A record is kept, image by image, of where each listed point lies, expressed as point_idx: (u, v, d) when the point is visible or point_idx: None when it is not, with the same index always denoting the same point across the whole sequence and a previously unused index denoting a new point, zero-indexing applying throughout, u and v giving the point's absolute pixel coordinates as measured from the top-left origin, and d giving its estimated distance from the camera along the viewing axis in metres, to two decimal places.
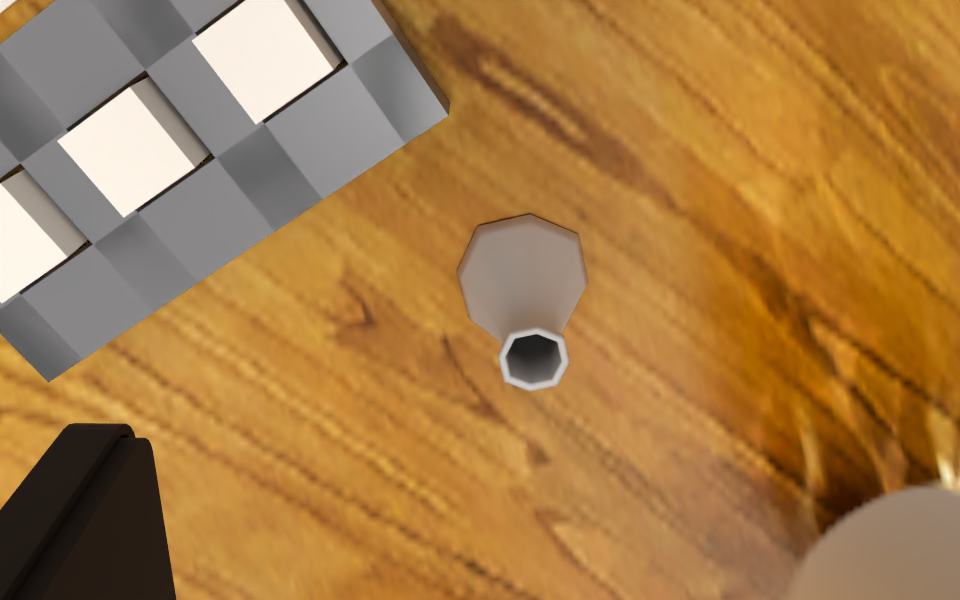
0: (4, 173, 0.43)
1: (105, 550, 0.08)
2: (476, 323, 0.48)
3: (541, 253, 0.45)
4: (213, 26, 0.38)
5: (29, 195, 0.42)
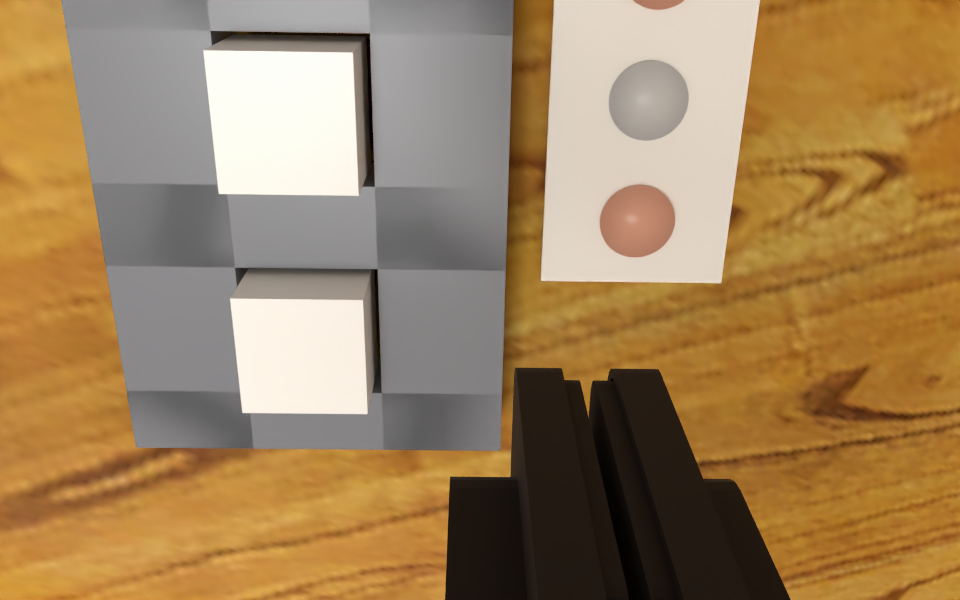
0: None
1: None
2: None
3: None
4: (362, 331, 0.30)
5: None
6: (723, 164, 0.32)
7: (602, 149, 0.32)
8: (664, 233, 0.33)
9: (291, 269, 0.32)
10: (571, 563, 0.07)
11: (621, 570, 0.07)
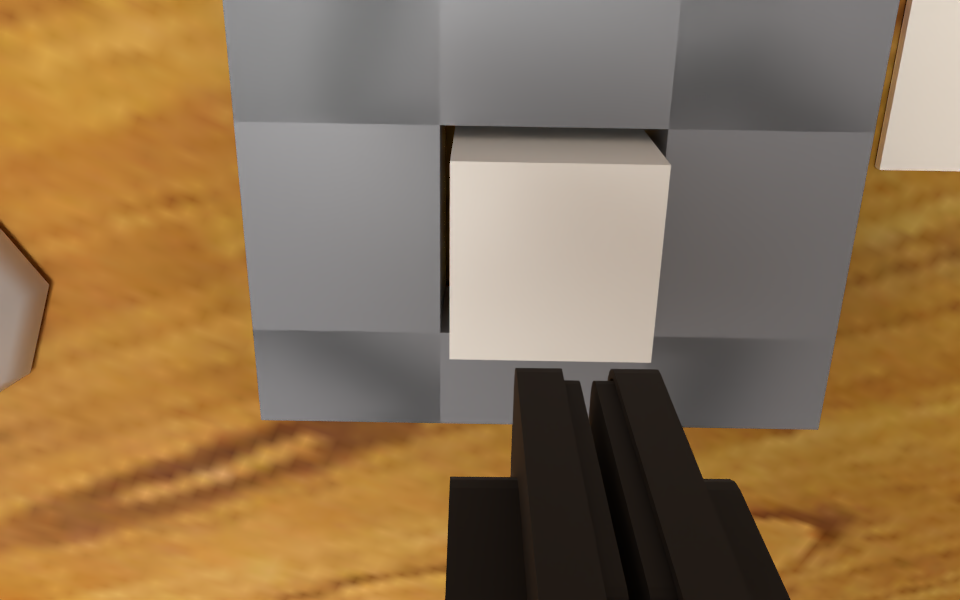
0: None
1: None
2: None
3: None
4: (661, 221, 0.18)
5: None
6: None
7: None
8: None
9: (522, 134, 0.20)
10: (572, 564, 0.07)
11: (621, 570, 0.07)
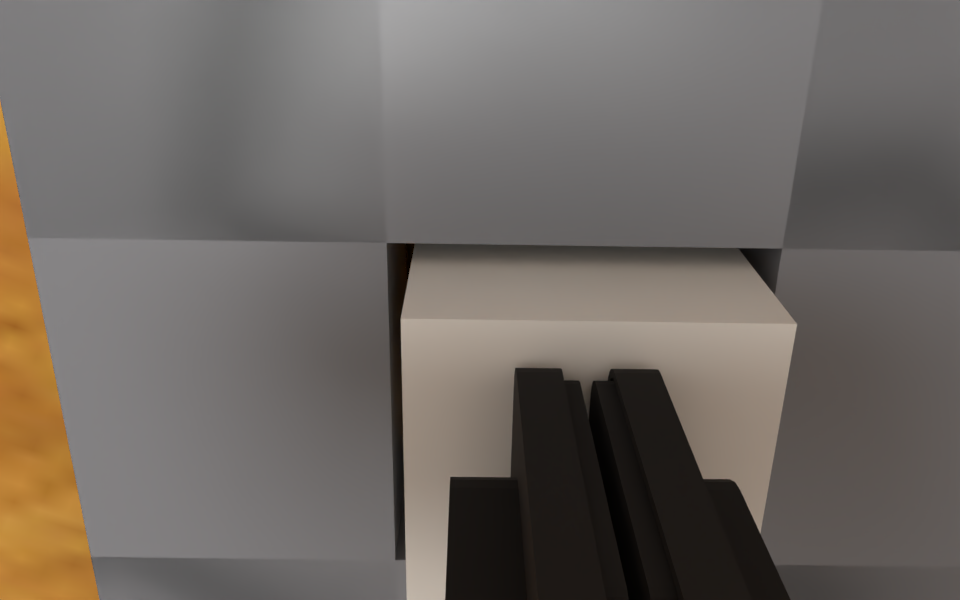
0: None
1: None
2: None
3: None
4: (774, 415, 0.10)
5: None
6: None
7: None
8: None
9: None
10: (571, 563, 0.07)
11: (621, 570, 0.07)
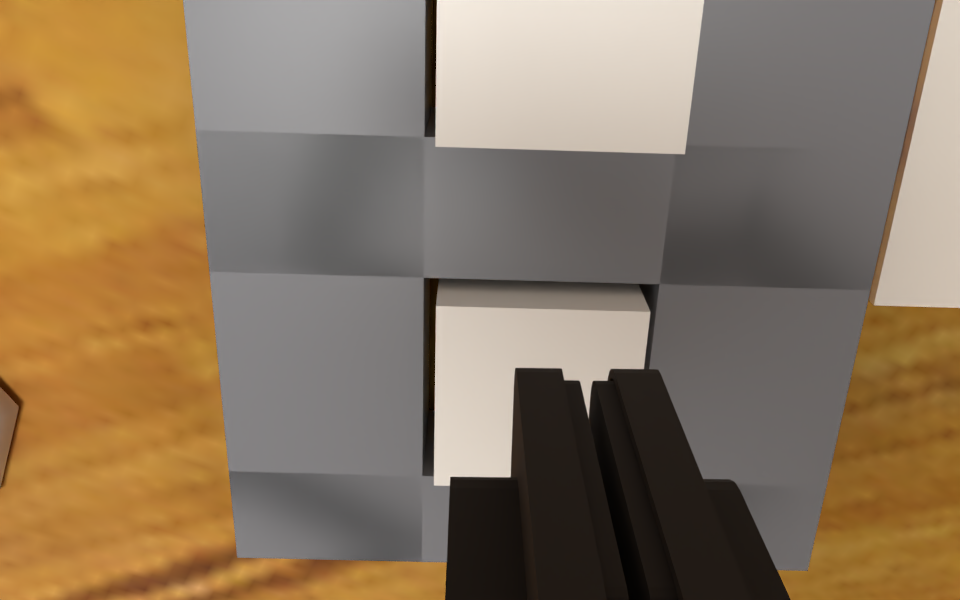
0: None
1: None
2: None
3: None
4: (641, 362, 0.19)
5: None
6: None
7: None
8: None
9: None
10: (572, 563, 0.07)
11: (621, 570, 0.07)
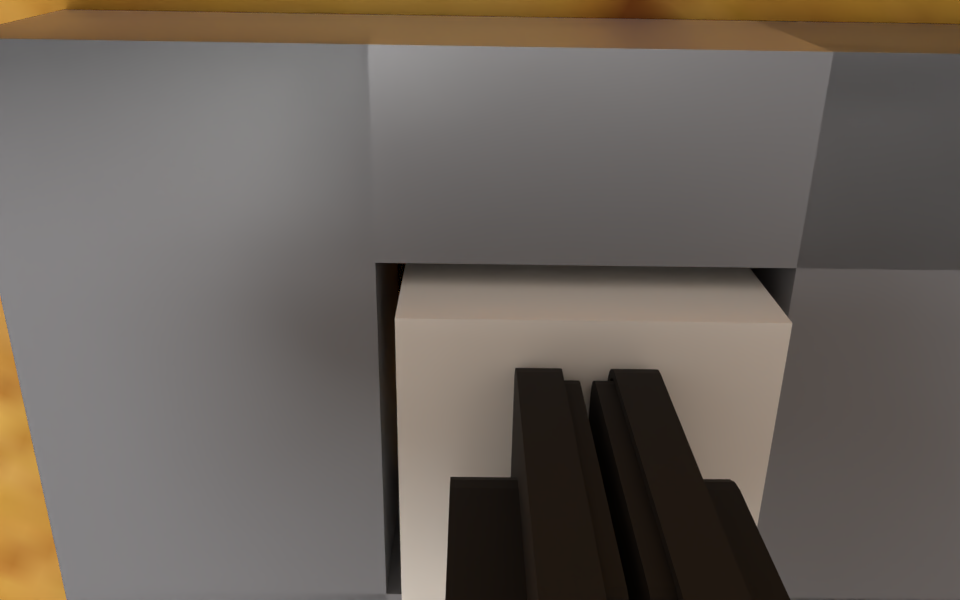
0: None
1: None
2: None
3: None
4: None
5: None
6: None
7: None
8: None
9: None
10: (571, 563, 0.07)
11: (621, 570, 0.07)
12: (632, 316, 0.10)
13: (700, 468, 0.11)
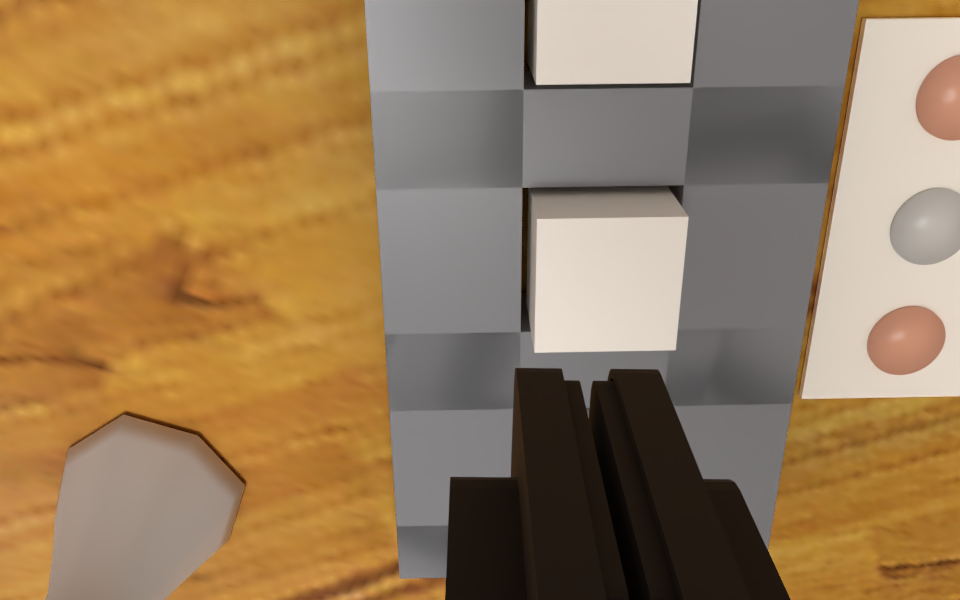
0: (698, 52, 0.26)
1: None
2: (114, 451, 0.33)
3: None
4: None
5: None
6: None
7: (878, 273, 0.32)
8: (933, 351, 0.33)
9: None
10: (571, 563, 0.07)
11: (621, 570, 0.07)
12: None
13: None
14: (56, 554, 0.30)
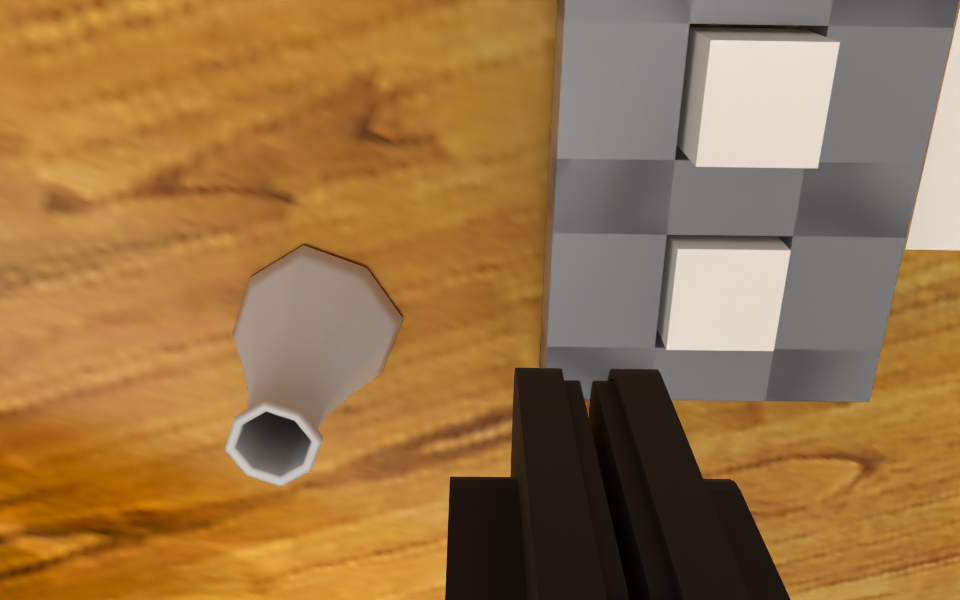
0: None
1: None
2: (300, 271, 0.37)
3: None
4: (784, 278, 0.35)
5: None
6: None
7: None
8: None
9: None
10: (571, 564, 0.07)
11: (621, 570, 0.07)
12: None
13: None
14: (257, 349, 0.35)
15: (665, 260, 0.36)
